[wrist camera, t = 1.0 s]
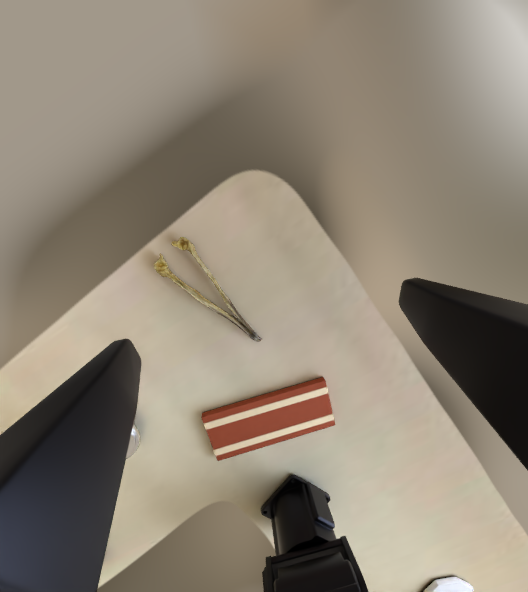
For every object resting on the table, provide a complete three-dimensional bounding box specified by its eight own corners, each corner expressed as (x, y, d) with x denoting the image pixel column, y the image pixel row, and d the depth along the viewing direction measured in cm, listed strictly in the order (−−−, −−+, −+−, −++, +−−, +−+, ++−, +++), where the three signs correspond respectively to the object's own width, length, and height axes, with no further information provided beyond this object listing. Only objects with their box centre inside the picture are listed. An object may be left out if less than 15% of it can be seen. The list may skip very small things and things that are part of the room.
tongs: (252, 347, 27) (253, 355, 25) (154, 264, 25) (146, 265, 23) (280, 318, 27) (282, 324, 25) (182, 231, 24) (176, 230, 22)
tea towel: (322, 376, 29) (325, 380, 28) (332, 420, 30) (335, 425, 29) (202, 412, 28) (201, 417, 27) (218, 455, 30) (217, 461, 29)
